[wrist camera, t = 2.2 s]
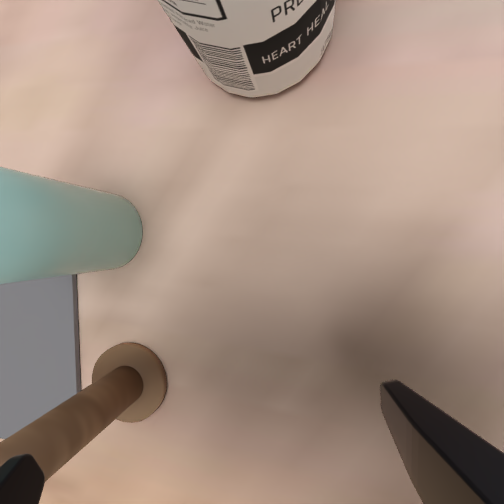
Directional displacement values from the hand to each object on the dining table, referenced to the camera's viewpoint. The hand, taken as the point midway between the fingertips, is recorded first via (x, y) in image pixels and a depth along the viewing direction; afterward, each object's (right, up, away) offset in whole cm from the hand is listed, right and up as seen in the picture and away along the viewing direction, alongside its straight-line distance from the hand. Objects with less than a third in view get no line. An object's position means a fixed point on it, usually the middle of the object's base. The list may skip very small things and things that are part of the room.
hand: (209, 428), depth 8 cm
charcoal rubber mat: (-17, -3, +15) cm, 22 cm away
